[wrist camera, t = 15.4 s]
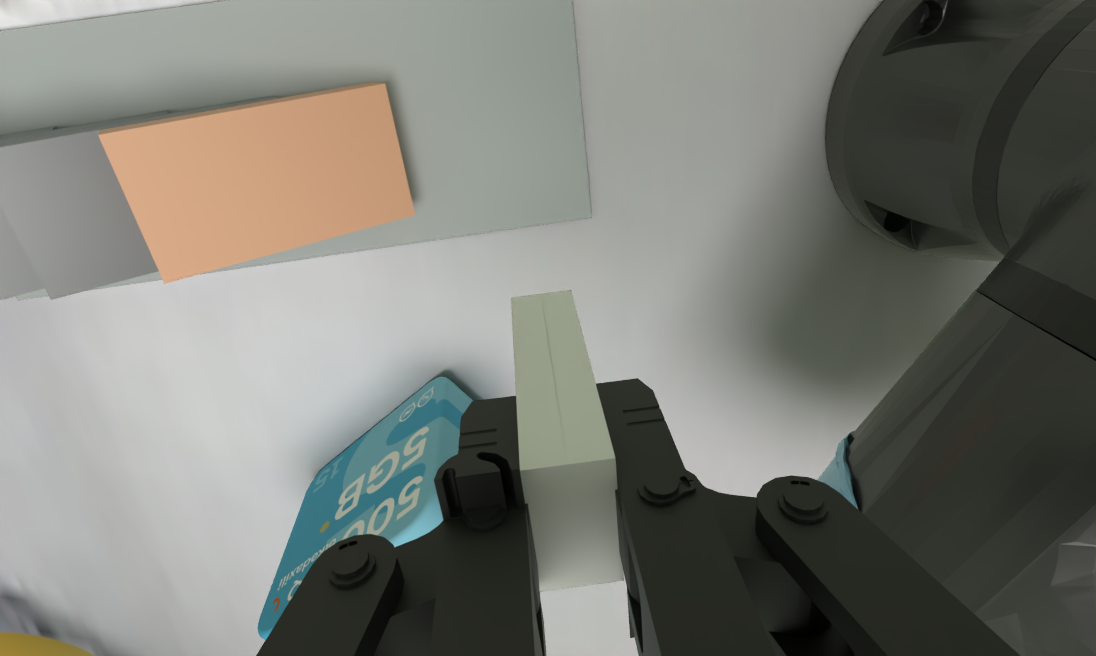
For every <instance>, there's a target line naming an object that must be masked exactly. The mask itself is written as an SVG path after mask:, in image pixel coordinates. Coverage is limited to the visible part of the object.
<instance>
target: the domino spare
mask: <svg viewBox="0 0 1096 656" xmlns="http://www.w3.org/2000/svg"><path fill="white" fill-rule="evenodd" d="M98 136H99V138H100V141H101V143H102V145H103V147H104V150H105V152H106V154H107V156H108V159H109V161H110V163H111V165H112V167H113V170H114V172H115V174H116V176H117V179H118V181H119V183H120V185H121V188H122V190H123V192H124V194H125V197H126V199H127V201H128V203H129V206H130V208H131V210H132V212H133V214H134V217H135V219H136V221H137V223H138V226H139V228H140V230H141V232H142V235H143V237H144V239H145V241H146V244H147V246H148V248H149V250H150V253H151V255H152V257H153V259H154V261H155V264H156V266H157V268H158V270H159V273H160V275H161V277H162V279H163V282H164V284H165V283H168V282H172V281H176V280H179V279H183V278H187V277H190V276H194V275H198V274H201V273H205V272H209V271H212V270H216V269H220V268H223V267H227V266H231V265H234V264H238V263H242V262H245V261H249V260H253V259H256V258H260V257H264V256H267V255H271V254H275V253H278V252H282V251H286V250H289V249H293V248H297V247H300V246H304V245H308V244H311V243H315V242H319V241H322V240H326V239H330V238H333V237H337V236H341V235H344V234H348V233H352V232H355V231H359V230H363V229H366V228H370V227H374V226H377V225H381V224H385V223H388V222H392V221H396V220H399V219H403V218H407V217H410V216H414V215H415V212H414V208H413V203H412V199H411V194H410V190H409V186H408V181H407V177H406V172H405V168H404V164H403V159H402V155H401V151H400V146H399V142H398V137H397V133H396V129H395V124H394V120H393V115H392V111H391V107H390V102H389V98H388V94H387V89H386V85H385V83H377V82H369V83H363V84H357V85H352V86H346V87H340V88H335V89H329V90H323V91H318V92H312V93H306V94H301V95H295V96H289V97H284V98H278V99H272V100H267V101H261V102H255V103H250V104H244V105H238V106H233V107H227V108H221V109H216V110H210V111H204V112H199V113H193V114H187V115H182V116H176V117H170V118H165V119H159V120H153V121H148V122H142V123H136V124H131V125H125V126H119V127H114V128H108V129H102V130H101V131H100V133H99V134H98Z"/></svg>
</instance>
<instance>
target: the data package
mask: <svg viewBox="0 0 1096 656" xmlns="http://www.w3.org/2000/svg"><path fill="white" fill-rule="evenodd" d="M472 401H473V400H472V399H471V398H470V397H469V396H467V395H466V394H465V393H464V392H463V391H462V390H461V389H459V388H458V387H457V386H456V385H455V384H454V383H453V382H452V381H450V380H449V379H448V378H447V377H438V378H435V379H434V380H432V381H430V382H429V383H428V384H426V385H425V386H424V387H423V388H421V389H420V390H419V391H418V392H416V393H415V394H414V395H413V396H411V397H410V398H409V399H408V400H407V401H405V402H404V403H403V404H402V405H400V406H399V407H398V408H397V409H395V410H394V411H393V412H392V413H390V414H389V415H388V416H387V417H386V418H384V419H383V420H382V421H381V422H379V423H378V424H377V425H376V426H374V427H373V428H372V429H371V430H369V431H368V432H367V433H366V434H364V435H363V436H362V437H361V438H360V439H358V440H357V441H356V442H355V443H353V444H352V445H351V446H350V447H348V448H347V449H346V450H345V451H343V452H342V453H341V454H340V455H339V456H337V457H336V458H335V459H334V460H332V461H331V462H330V463H329V464H327V465H326V466H325V467H324V468H323V469H322V470H321V471H320V472H319V474H318V475H317V476H316V477H315V479H314V480H313V481H312V483H311V484H310V486H309V488H308V490H307V492H306V495H305V497H304V500H303V503H302V505H301V508H300V511H299V513H298V516H297V519H296V522H295V524H294V527H293V530H292V532H291V535H290V538H289V540H288V543H287V546H286V549H285V551H284V554H283V557H282V559H281V562H280V565H279V567H278V570H277V573H276V575H275V578H274V581H273V584H272V586H271V589H270V592H269V594H268V597H267V600H266V602H265V605H264V608H263V611H262V613H261V616H260V619H259V623H258V633H259V635H260V637H262V638H263V639H265V640H266V639H267V637H268V636H269V634H270V632H271V631H272V629H273V628H274V626H275V624H276V623H277V621H278V619H279V618H280V616H281V614H282V613H283V611H284V610H285V608H286V606H287V605H288V603H289V601H290V600H291V598H292V597H293V595H294V593H295V592H296V590H297V588H298V587H299V585H300V584H301V582H302V580H303V579H304V577H305V575H306V574H307V572H308V571H309V569H310V567H311V566H312V564H313V563H314V562H315V561H316V560H317V558H318V557H319V556H320V555H321V554H322V553H323V552H324V551H325V550H327V549H328V548H329V547H331V546H332V545H334V544H335V543H337V542H338V541H341V540H344V539H346V538H349V537H352V536H354V535H364V534H374V535H378V536H382V537H385V538H386V539H387V540H388V541H390V542H391V543H392V544H393V545H394V547H396V546H399V545H402V544H404V543H407V542H409V541H412V540H414V539H417V538H419V537H421V536H423V535H425V534H427V533H429V532H430V531H431V530H433V529H434V528H436V527H437V526H438V525H439V524H440V523H441V522H442V521H443V516H442V512H441V508H440V504H439V500H438V496H437V492H436V488H435V483H434V478H435V476H436V473H437V471H438V469H439V468H440V467H441V466H442V465H443V464H444V463H445V462H446V461H447V460H448V459H449V458H451V457H453V456H455V455H456V454H458V450H459V448H458V445H459V437H460V422H461V416H462V415H463V413H464V412H465V411H466V409H467V408H468V406H469V405H470V404H471V402H472Z"/></svg>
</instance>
